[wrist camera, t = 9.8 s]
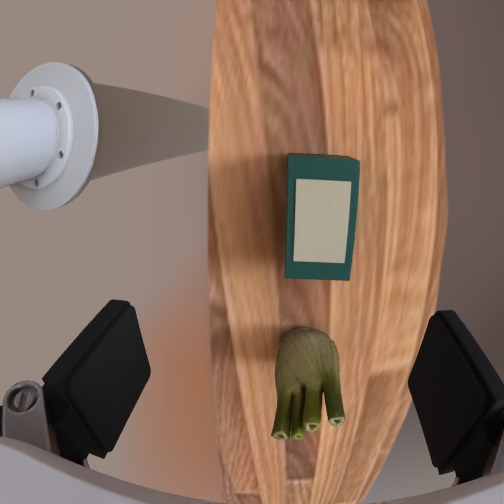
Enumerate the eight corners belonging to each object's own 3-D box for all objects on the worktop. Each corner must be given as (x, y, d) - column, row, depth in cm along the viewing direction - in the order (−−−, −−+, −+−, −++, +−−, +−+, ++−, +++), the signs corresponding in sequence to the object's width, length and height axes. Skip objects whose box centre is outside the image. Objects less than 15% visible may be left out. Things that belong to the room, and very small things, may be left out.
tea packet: (288, 153, 24) (287, 156, 20) (349, 156, 23) (360, 160, 19) (286, 255, 27) (284, 279, 23) (341, 258, 27) (349, 281, 22)
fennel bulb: (336, 321, 29) (349, 416, 18) (330, 358, 31) (338, 450, 20) (277, 320, 30) (266, 415, 19) (277, 357, 32) (266, 449, 21)
